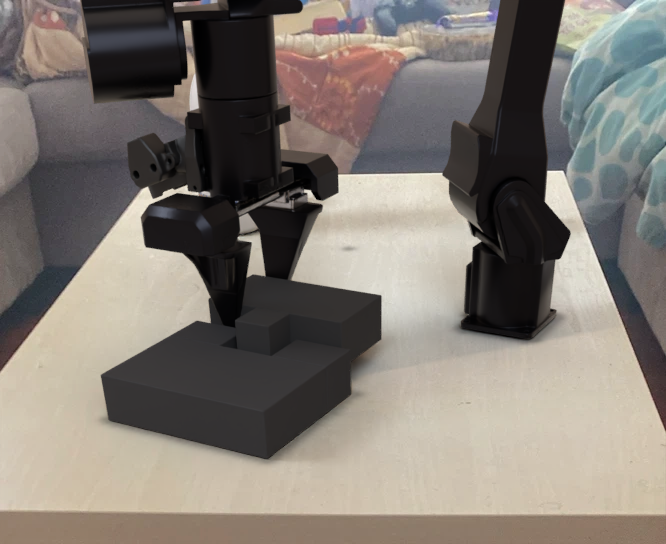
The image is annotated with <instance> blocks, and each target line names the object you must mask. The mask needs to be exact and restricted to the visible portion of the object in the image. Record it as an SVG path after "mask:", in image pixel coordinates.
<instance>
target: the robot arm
mask: <svg viewBox="0 0 666 544" xmlns="http://www.w3.org/2000/svg"><path fill="white" fill-rule="evenodd" d="M201 1H202V0H79V3H80V15H81V21H82V30H83V36H82V37H81V43H82V44H81V45H82V48H83V56H84V61H85V67H86V74H87V80H88V85H89V90H90V95H91V100H92V104H94V105H95V104H97V105H98V104H108V103H109V104H110V103H118V102H119V103H120V102H121V103H122V102H134V101H144V100H146V101H147V100H159V99H171V98H174V97H175V89H176V88H175V87H176V86H183V83H182V82H183V81H185V80H188V77H189V65H188V53H187V52H188V51H187V43H186V37H185V28H184V22H190V33H191V44H192V53H193V64H194V74H195V75H196V85H197V96H198V106H199V108H198V109H195V110H192V111H190V110H189V111H187V112H186V116H185V117H184V128H185V134H184V135H183V136H180V137H178V138H176V139H173V140H170V141H166V142H165V143H164V142H163V141H162V139H161V138H160V137H159V136H158V134H156V133H155V132H151V133H148V134H144V135H142V136H140V137H137V138H135V139H131V140H130V141H128V142H126V148H127V149H126V150H127V166H128V170H129V176H130V178H131V180H132V181H133V183H134V185H135V186H136V187H138V188H139V189H140V190H144V189H146V188H147V189H148V191H149V193H150V196H151V198H152V199H153V200H155V199H157V198H160V197H163V195H164V193H165V192H168V191H170V190H174V191H176V190H179V189H181V188H183V187H186V186H187V192H191V193H197V194H198V193H201V192H204V191H205V192H210V197H205V196H199V195H197V194H190V193H182V192H176V193H173V194H171V195H169V196H166V197H163V198H161V199H159V200H157V201H155V202H152V203H149V204H148V205H147V207H146V209H145V210H144V211H143V212H142V214H141V216H140V222H141V229H142V238H143V244H144V247H145V248H147V249H152V250H158V251H159V250H160V251H165V252H173V253H178V254H182V255H183V256H185V257H186V258H187V260H189V261H190V262H191V263H192V264H193V265H194V268H195V269H196V270H197V272H198V274H199V276H200V278H201V280H202V282H203V284H204V286H205V288H206V290H207V293H208V295H209V298H211V299H212V302H213V304H214V306H215V308H216V311H217V313H218V315H219V317H220V320H221V322H222V324H223V326H229V327H234V328H236V327H235V320H236V319H238V318H240V315H241V311H242V304H243V298H244V291H245V285H246V278H247V277H248V271H249V265H250V260H251V252H252V245H253V242H252V241H246V240H240V239H239V237H240V234H239V233H240V220H239V217H241V216H243V215H245V214H247V213H248V214H249V216H250V217H251V219H252V220H253V221H254V223H255V224H256V226H257V227H258V229H257V230H258V233H259V238H260V239H259V240H260V246H261V247H260V248H261V254H262V260H263V269H264V274H265V275H264V276H267V277H273V278H279V279H285V280H291V281H292V280H293V276H294V274H295V272H296V269H297V265H298V262H299V260H300V258H301V256H302V253H303V251H304V248H305V247H306V243H307V241H308V239H309V237H310V234H311V232H312V230H313V227H314V225H315V223H316V221H317V218H318V216H319V215H320V214H321V213H323V210H324V205H323V204H322V203H318V202H312V201H309V196H308V195H309V194H308V192H305V191H310V192H311V194H312V195H313V197H314V199H315V200H316V201H321V202H323V201H325V200H328V199H330V198H331V197H333V196H335V195H337V194H339V192H340V191H339V189H340V187H339V167H338V165H337V164H336V162H334V160H333V159H332V157H331V156H330V155H329V154H328V153H321V152H312V151H303V150H295V149H294V150H293V149H285V148H284V149H283V148H282V146H281V145H282V144H281V128H280V127H281V126H282V125H284V124H286V123H289V122H291V121H292V115H291V104H283V103H279V92H278V90H279V89H278V74H277V73H278V71H277V56H276V55H277V53H276V52H277V51H276V36H275V19H274V18H275V17H274V16H281V15H283V16H284V15H297V14H301V13H302V11H303V10H304V4H303V1H302V0H216V1H217V2H210V3H204V4H195V5H179V6H178V5H177V6H174V4H176V3H177V4H178V3H190V2H191V3H192V2H201ZM565 5H566V0H499V5H498V11H497V16H496V22H495V28H494V34H493V40H492V46H491V51H490V56H489V63H488V70H487V74H486V80H485V85H484V91H483V95H482V98H481V100H480V103H479V105H478V106H477V108H476V110H475V112H474V114H473V115H472V117H471V119H470V121H469V122H468V123H467V122H463V121H460V120H458V119H457V120H456V119H454V120H453V121H452V124H451V130H450V151H449V155H448V160H447V163H446V165H445V167H444V169H443V171H442V173H441V175H442V177H443V178H445V179H446V180H448V195H449V200H450V201H451V203H452V205H453V207H454V208H455V210H456V211H457V212H458V213H459V215H461V216H462V217H463V218H464V219H465V220H466V222H467V225H468V227H469V231H470V235H471V236H473V237H474V238H477V239H478V240H479V241H480V242H478V243H477V244H475V245H473V246H472V253H471V261H470V262H469V263H467V264H466V266H465V282H464V298H463V299H464V301H463V312H464V314H465V315H466V316H465V317H464V318H462V319H461V320H460V325H459V326H460V328H462V329H466V330H471V331H472V330H473V331H478V332H483V333H491V334H495V335H502V336H507V337H512V338H519V339H525V340H530V339H532V338H534V337H535V336H536V335H537V334H538V333H539V332H540V331H542V330H543V328H545V327H546V326H547V325H548V324H549V323H550V322H551V321H553V319H555V318H556V317H557V311H558V310H557V309H556V308H551V307H552V306H551V305H552V297H553V287H554V277H555V268H556V260H557V261H558V260H560V259H562V257H563V254H564V253H565V249H566V247H567V245H568V243H569V241H570V238H571V234H572V233H571V230H570V228H568V226H567V225H566V224H565V223H564V222H563V220H561V219H560V217H559V216H558V214H556V213H555V211H553V209H552V208H551V207H550V206H549V204H547V202H546V197H547V196H546V195H547V183H548V182H547V180H548V169H549V168H548V167H549V151H548V143H547V135H546V128H545V127H546V126H545V118H544V117H545V116H544V106H545V101H546V95H547V91H548V87H549V81H550V77H551V71H552V68H553V67H552V66H553V62H554V58H555V57H554V56H555V52H556V48H557V44H558V43H557V42H558V38H559V32H560V28H561V24H562V19H563V14H564V10H565V9H564V8H565ZM235 201H238V202H237V203H235Z"/></svg>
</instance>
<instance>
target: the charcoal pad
mask: <svg viewBox="0 0 666 544" xmlns="http://www.w3.org/2000/svg"><path fill="white" fill-rule="evenodd" d="M351 363H352V361H351V360H350V349H345V348H339V347H334V346H329V345H324V344H318V343H313V342H308V341H302V340H295V341H294V342H292V343H291V344H289V345H288V346H286V347H284V348H283V349H281V350H280V351H278V352H277V353H275V354H274V355H272V356H269V355H264V354H259V353H254V352H249V351H244V350H239V349H237V338H236V328H234V327H229V326H223V325H218V324H213V323H211V322H207V321H201V320H194V321H192V322H191V323H189V324H188V325H186V326H185V327H182V328H181V329H179V330H177V331H175V332H174V333H172V334H170V335H169V336H167V337H165V338H163V339H161V340H160V341H158V342H156V343H154V344H152V345H151V346H149V347H147V348H145V349H144V350H141V351H140V352H138V353H136V354H135V355H133V356H131V357H130V358H127V359H126V360H124V361H122V362H120V363H119V364H117V365H115V366H114V367H112V368H110V369H108V370H106V371H105V372H103V373H101V374H100V379H101V386H102V389H103V396H104V403H105V407H106V414H107V418H108V421H110V422H111V421H112V422H115V423H119V424H123V425H127V426H131V427H136V428H138V429H144V430H147V431H152V432H156V433H160V434H163V435H167V436H173V437H176V438H180V439H184V440H189V441H193V442H197V443H201V444H205V445H209V446H212V447H216V448H221V449H226V450H230V451H233V452H236V453H241V454H246V455H250V456H253V457H257V458H262V459H266V460H267V459H269V458H271V457H272V456H273V455H275V454H276V453H277V452H278V451H280V450H281V449H282V448H283V447H285V446H286V445H287V444H289V443H290V442H291V441H293V440H294V439H295V438H296V437H298V436H299V435H300V434H302V433H303V432H304V431H306V430H307V429H308V428H309V427H311V426H312V425H313V424H314V423H316V422H317V421H319V420H320V419H321V418H322V417H323V416H325V415H326V414H327V413H329V412H330V411H332V410H333V409H334V408H335V407H337V406H338V405H339V404H341V402H343V401H345V400H346V399H348V398H349V396H351V395H352V373H351V371H352V370H351V368H352V367H351V366H352V364H351Z"/></svg>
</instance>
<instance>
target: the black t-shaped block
mask: <svg viewBox="0 0 666 544" xmlns="http://www.w3.org/2000/svg"><path fill="white" fill-rule="evenodd" d="M207 300H208V309H209V319H210V320H209V321H210V323H213V324H218V325H223V324H222V322H221V320H220V317H219V315H218V313H217V311H216V308H215V306H214V304H213V302H212V299H211V297H209V298H208V299H207ZM382 300H383V296H382V294H378V293H377V294H376V293H371V292H363V291H357V290H352V289H345V288H340V287H333V286H328V285H321V284H315V283H311V282H305V281H304V282H303V281H297V280H292V279H291V280H285V279H279V278H273V277H267V276H265V275H261V274H254V273H253V274H250V275H249V276H247V278H246V285H245V291H244V298H243V304H242V311H241V315H240V318H238V319H236V320H235V327H236V338H237V349H239V350H244V351H249V352H254V353H259V354H264V355H269V356H272V355H274V354H275V353H277V352H278V351H280V350H281V349H283V348H284V347H286V346H288V345H289V344H291V343H292V342H294V341H295V340H302V341H308V342H313V343H318V344H324V345H329V346H334V347H339V348H345V349H350V360H351V362H353V361H354V360H356V359H357V358H359V356H361V355H362V354H364V353H365V352H367V351H368V350H369V349H371V348H372V347H373V346H375V345H376V344H377V343H379V342H380V341H381V340H382V329H383V327H382V325H383V323H382V322H383V321H382V319H383V318H382V313H383V312H382V307H383V306H382V305H383V303H382V302H383V301H382Z"/></svg>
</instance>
